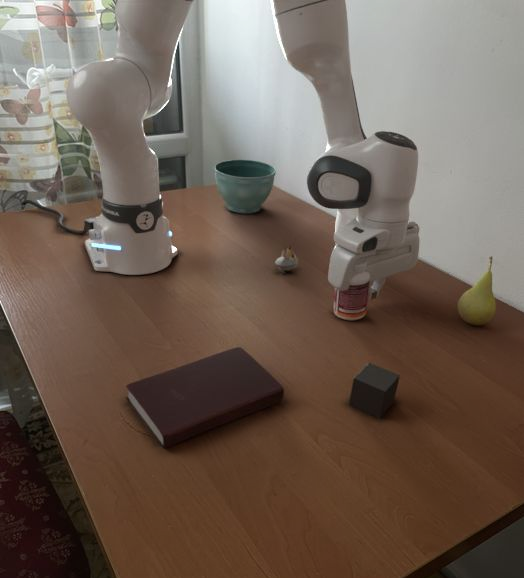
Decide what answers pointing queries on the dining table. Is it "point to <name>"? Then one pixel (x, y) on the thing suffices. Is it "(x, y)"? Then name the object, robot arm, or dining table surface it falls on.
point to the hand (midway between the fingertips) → (369, 298)
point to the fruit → (478, 301)
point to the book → (203, 395)
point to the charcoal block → (374, 390)
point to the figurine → (286, 261)
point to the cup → (345, 217)
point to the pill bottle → (353, 296)
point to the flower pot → (244, 184)
